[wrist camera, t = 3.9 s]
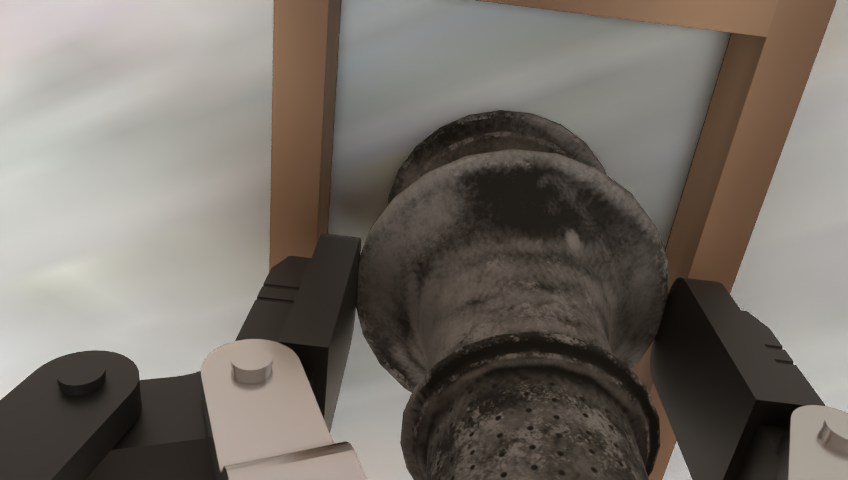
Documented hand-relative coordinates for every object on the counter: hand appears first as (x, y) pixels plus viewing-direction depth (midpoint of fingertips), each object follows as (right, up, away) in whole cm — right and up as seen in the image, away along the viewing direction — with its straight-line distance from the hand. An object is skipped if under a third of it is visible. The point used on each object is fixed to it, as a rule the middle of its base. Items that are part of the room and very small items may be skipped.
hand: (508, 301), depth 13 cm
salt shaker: (0, +2, +3) cm, 4 cm away
